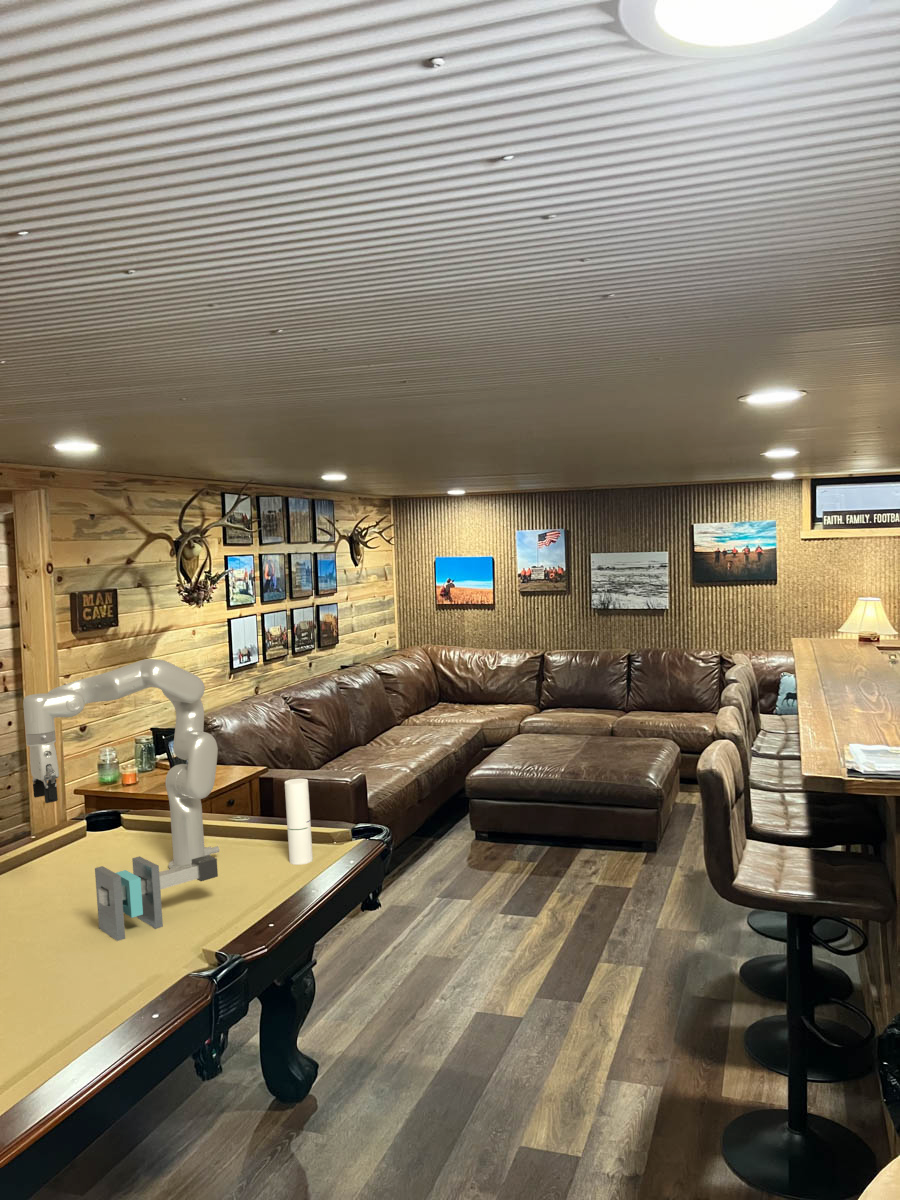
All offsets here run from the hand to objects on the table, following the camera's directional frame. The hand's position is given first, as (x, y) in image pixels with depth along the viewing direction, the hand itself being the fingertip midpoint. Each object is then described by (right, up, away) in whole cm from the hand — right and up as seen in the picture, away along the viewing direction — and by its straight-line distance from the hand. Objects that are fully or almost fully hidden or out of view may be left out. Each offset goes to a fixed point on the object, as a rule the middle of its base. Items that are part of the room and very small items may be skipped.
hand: (45, 799), depth 257 cm
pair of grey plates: (+30, -30, -18) cm, 46 cm away
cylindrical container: (+67, -26, +30) cm, 77 cm away
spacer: (+30, -25, -18) cm, 43 cm away
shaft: (+36, -21, -13) cm, 44 cm away
